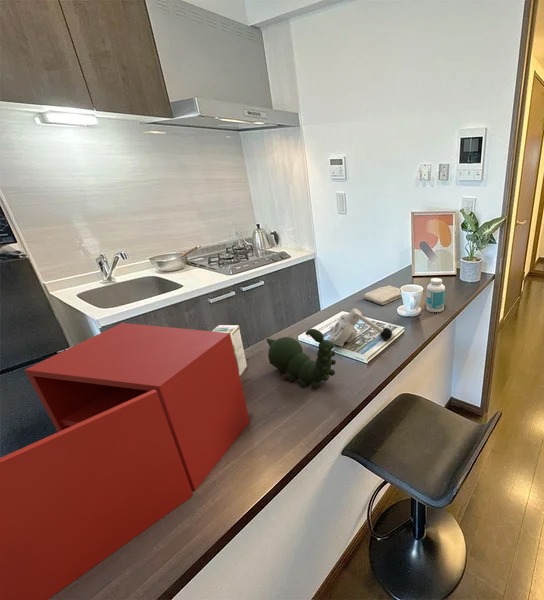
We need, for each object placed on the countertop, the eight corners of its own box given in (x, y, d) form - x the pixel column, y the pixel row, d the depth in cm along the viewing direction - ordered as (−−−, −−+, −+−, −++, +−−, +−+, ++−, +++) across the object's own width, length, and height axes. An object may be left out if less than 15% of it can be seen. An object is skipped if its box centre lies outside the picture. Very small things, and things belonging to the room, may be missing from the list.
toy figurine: (342, 385, 94) (281, 354, 104) (342, 329, 85) (276, 301, 96) (319, 405, 86) (256, 369, 97) (317, 345, 78) (248, 313, 89)
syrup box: (219, 378, 94) (208, 333, 88) (229, 366, 99) (219, 323, 93) (239, 378, 94) (229, 333, 88) (247, 366, 99) (239, 324, 94)
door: (209, 514, 57) (172, 407, 48) (-24, 696, 38) (-163, 575, 28) (191, 492, 61) (154, 388, 52) (-30, 647, 42) (-154, 526, 32)
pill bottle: (446, 308, 140) (448, 278, 135) (440, 314, 134) (442, 283, 129) (429, 304, 143) (431, 275, 138) (423, 311, 137) (424, 281, 132)
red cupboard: (195, 490, 62) (159, 386, 52) (77, 470, 65) (24, 369, 56) (250, 422, 78) (230, 332, 68) (153, 409, 82) (122, 322, 72)
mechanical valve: (327, 329, 115) (353, 299, 112) (366, 352, 123) (392, 324, 119) (326, 345, 106) (355, 313, 103) (368, 369, 114) (396, 340, 110)
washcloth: (408, 295, 153) (408, 289, 152) (382, 307, 140) (382, 300, 139) (389, 289, 160) (389, 283, 159) (363, 299, 147) (362, 293, 146)
